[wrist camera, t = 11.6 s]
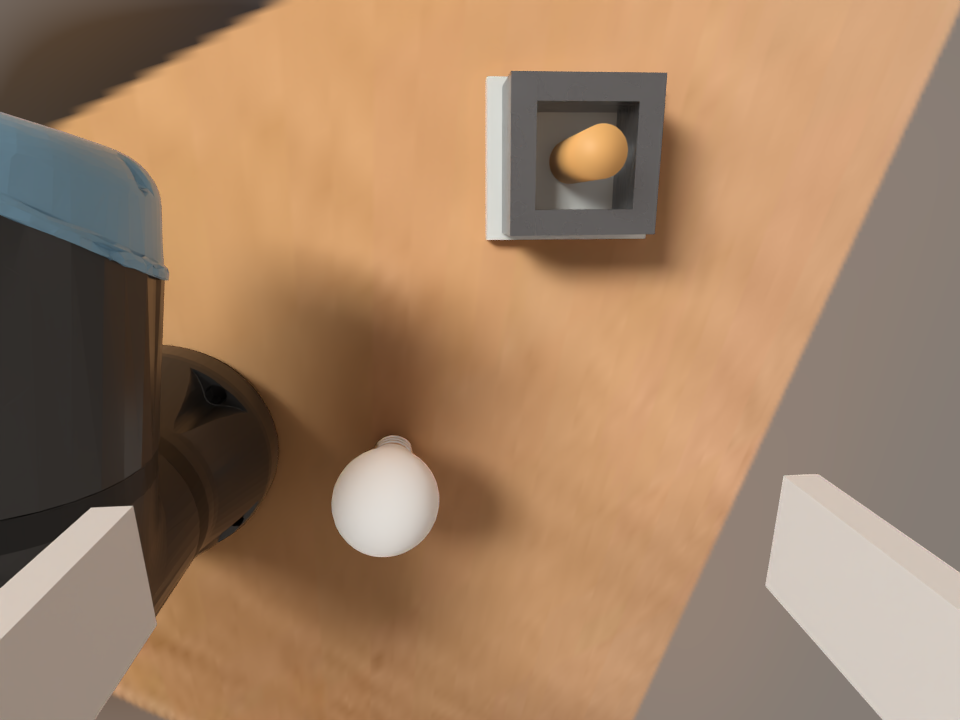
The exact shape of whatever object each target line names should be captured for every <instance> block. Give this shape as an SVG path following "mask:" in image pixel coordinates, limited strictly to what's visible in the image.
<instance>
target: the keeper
mask: <svg viewBox="0 0 960 720" xmlns="http://www.w3.org/2000/svg"><path fill="white" fill-rule="evenodd" d="M506 79H507V77H496V76H487V78H486V240H538V239H645V236H646V234H628V235H553V236H509V235H506V234H504V233H502V86H503V84H504V82H505V81H506ZM616 124H617V113H598V112H537V137H536V190H535V209H612V195H613V178H614V175H615V174H617V173H618V172H619V171H620V170H621V168H622V167H623V166H624V164H625V162H626V159H627V154H628V145H627V141H626V138H625V136H624V134H623V133H622V132H621V131H620V130H619V129H618V128H617V127H616Z"/></svg>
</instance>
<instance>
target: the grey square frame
mask: <svg viewBox="0 0 960 720" xmlns="http://www.w3.org/2000/svg"><path fill="white" fill-rule="evenodd" d="M666 83H667V73H639V72H550V71H511V72H510V74H509V76H508V77H507V79H506V81H505V82H504V84H503V86H502V233H504V234H506V235H509V236H553V235H628V234H655V224H656V211H657V198H658V185H659V172H660V160H661V147H662V134H663V121H664V108H665V95H666ZM537 112H598V113H617V124H616V127H617V128H618V129H619V130H620V131H621V132H622V133H623V134H624V136H625V138H626V141H627V145H628V154H627V159H626V162H625V164H624V166H623V167H622V168H621V170H620V171H619V172H618V173H617V174H615V175H614V178H613V195H612V209H535V190H536V137H537Z"/></svg>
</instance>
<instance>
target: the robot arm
mask: <svg viewBox="0 0 960 720" xmlns="http://www.w3.org/2000/svg"><path fill="white" fill-rule="evenodd" d="M165 280H169V271H168V269H167V268H166V267H165V265H164V258H163V242H162V206H161V197H160V194H159V191H158V189H157V186H156V184H155V182H154V181H153V179H152V178H151V176H150V175H149V174H148V172H147V171H146V170H145V169H144V168H143V167H142V166H141V165H140V164H138V163H137V162H136V161H134V160H133V159H132V158H130V157H128V156H126V155H125V154H123V153H121V152H119V151H116V150H114V149H111V148H109V147H106V146H103V145H101V144H98V143H95V142H92V141H89V140H86V139H83V138H80V137H77V136H74V135H71V134H68V133H65V132H62V131H59V130H56V129H53V128H50V127H47V126H44V125H40V124H37V123H34V122H31V121H27V120H24V119H21V118H18V117H15V116H12V115H8V114H5V113H2V112H0V720H95V719H96V717H97V716H98V714H99V713H100V711H101V710H102V708H103V707H104V705H105V704H106V702H107V701H108V699H109V698H110V696H111V694H112V693H113V691H114V690H115V688H116V687H117V685H118V684H119V682H120V681H121V679H122V678H123V676H124V675H125V673H126V672H127V670H128V668H129V667H130V665H131V664H132V662H133V661H134V659H135V658H136V656H137V655H138V653H139V652H140V650H141V649H142V647H143V645H144V644H145V642H146V641H147V639H148V638H149V636H150V635H151V633H152V632H153V630H154V629H155V627H156V626H157V622H156V616H157V614H158V613H159V611H160V609H161V608H162V606H163V605H164V603H165V602H166V600H167V599H168V597H169V596H170V594H171V593H172V591H173V590H174V588H175V587H176V585H177V584H178V582H179V581H180V579H181V577H182V576H183V574H184V573H185V571H186V570H187V568H188V567H189V565H190V564H191V562H192V561H193V559H194V558H195V557H197V556H198V555H200V554H201V553H203V552H204V551H206V550H208V549H209V548H211V547H212V546H214V545H215V544H216V543H218V542H220V541H221V540H223V539H225V538H226V537H228V536H229V535H231V534H232V533H234V532H235V531H236V530H238V529H239V528H240V527H241V526H242V525H244V524H245V522H246V521H247V520H248V519H249V518H250V517H251V516H252V515H253V514H254V512H255V511H256V510H257V508H258V507H259V505H260V503H261V502H262V500H263V498H264V497H265V495H266V493H267V491H268V490H269V488H270V486H271V484H272V481H273V479H274V476H275V473H276V469H277V463H278V439H277V433H276V429H275V425H274V422H273V420H272V417H271V415H270V413H269V411H268V409H267V407H266V405H265V403H264V402H263V400H262V399H261V397H260V396H259V394H258V393H257V392H256V391H255V389H254V388H253V387H252V386H251V385H250V384H249V383H248V382H247V381H246V380H245V379H244V378H243V377H242V376H241V375H239V374H238V373H237V372H236V371H234V370H233V369H231V368H230V367H228V366H227V365H225V364H224V363H222V362H220V361H218V360H216V359H214V358H212V357H210V356H208V355H205V354H203V353H200V352H197V351H194V350H190V349H186V348H182V347H176V346H168V345H162V338H163V311H164V284H165ZM766 587H767V589H768V590H769V591H770V592H771V593H772V594H773V595H774V596H775V598H776V599H777V600H778V601H779V602H780V603H781V604H782V606H783V607H784V608H785V609H786V610H787V611H788V612H789V614H790V615H791V616H792V617H793V618H794V619H795V620H796V622H797V623H798V624H799V625H800V626H801V627H802V628H803V629H804V631H806V633H807V634H808V635H809V636H810V638H811V639H812V640H813V641H814V642H815V643H816V644H817V645H818V647H819V648H820V649H821V650H822V651H823V652H824V653H825V655H826V656H827V657H828V658H829V659H830V660H831V661H832V663H833V664H834V665H835V666H836V667H837V668H838V669H839V671H840V672H841V673H842V674H843V675H844V676H845V677H846V679H847V680H848V681H849V682H850V683H851V684H852V685H853V686H854V688H855V689H856V690H857V691H858V692H859V693H860V695H861V696H862V697H863V698H864V699H865V700H866V701H867V702H868V703H869V705H870V706H871V707H872V708H873V709H874V710H875V712H876V713H877V714H878V715H879V716H880V717H881V718H882V720H960V572H958V571H957V570H955V569H954V568H952V567H951V566H949V565H948V564H947V563H945V562H944V561H942V560H941V559H939V558H938V557H937V556H935V555H934V554H932V553H931V552H929V551H928V550H927V549H925V548H924V547H922V546H921V545H919V544H918V543H916V542H915V541H913V540H912V539H911V538H909V537H908V536H906V535H905V534H903V533H902V532H901V531H899V530H898V529H896V528H895V527H893V526H892V525H890V524H889V523H888V522H886V521H885V520H883V519H882V518H880V517H879V516H878V515H876V514H875V513H873V512H872V511H870V510H869V509H868V508H866V507H865V506H863V505H862V504H860V503H859V502H857V501H856V500H855V499H853V498H852V497H850V496H849V495H847V494H846V493H845V492H843V491H842V490H840V489H839V488H837V487H836V486H834V485H833V484H832V483H830V482H829V481H827V480H826V479H824V478H823V477H822V476H820V475H819V474H807V475H786V476H784V477H783V483H782V489H781V495H780V501H779V507H778V513H777V519H776V525H775V531H774V537H773V544H772V549H771V555H770V561H769V567H768V573H767V579H766Z"/></svg>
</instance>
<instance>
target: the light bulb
mask: <svg viewBox="0 0 960 720" xmlns="http://www.w3.org/2000/svg"><path fill="white" fill-rule="evenodd" d="M331 505H332V514H333V518H334V522H335V526H336V528H337V529H338V531H339V533H340V535H341V536H342V537H343V538H344V539H345V541H346V542H347V543H348V544H349V545H351V546H352V547H353V548H354V549H356V550H358V551H359V552H361V553H364V554H367V555H370V556H375V557H392V556H397V555H400V554H403V553H405V552H407V551H409V550H411V549H412V548H414V547H415V546H417V545H418V544H419V543H420V542H421V541H423V540H424V538H425V537H426V536H427V535H428V533H429V532H430V530H431V529H432V527H433V525H434V523H435V521H436V518H437V514H438V509H439V491H438V486H437V482H436V480H435V477H434V475H433V473H432V472H431V470H430V469H429V468H428V466H427V465H426V464H425V463H424V462H423V461H422V460H421V459H420V458H419V457H417V456H416V455H414V454H413V451H412V447H411V443H410V442H409V441H408V440H407V439H406V438H404V437H402V436H400V435H389V436H385V437H383V438H382V439H380V440H379V441H378V442H377V443H376V445H375V447H374V449H372V450H369V451H367V452H364V453H363V454H361V455H359V456H358V457H356V458H355V459H353V460H352V461H351V462H350V463H349V464H348V465H347V466H346V467H345V468H344V470H343V471H342V472H341V474H340V475H339V477H338V479H337V481H336V484H335V486H334V490H333V495H332V501H331Z"/></svg>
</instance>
